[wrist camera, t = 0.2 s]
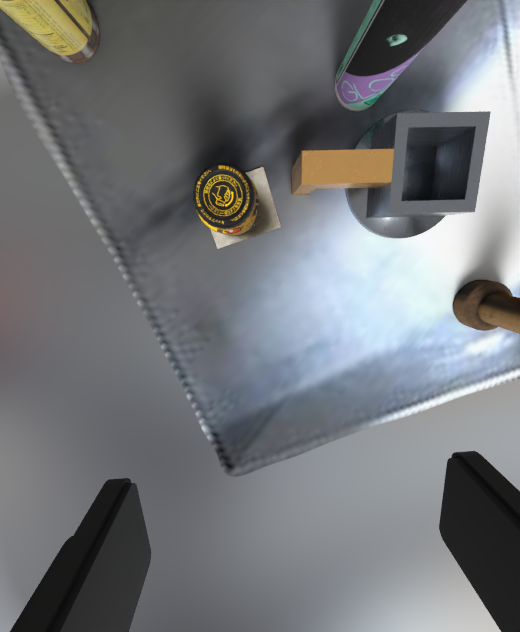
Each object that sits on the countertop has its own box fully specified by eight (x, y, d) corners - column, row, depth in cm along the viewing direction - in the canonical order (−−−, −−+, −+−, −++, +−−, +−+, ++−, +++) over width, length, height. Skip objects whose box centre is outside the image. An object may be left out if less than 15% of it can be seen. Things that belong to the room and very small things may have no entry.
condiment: (196, 190, 35) (169, 166, 23) (263, 167, 34) (269, 130, 23) (217, 248, 37) (202, 253, 25) (280, 227, 36) (294, 221, 25)
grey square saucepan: (292, 115, 33) (302, 83, 26) (467, 112, 34) (521, 80, 27) (291, 241, 37) (301, 241, 30) (449, 236, 37) (494, 236, 30)
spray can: (339, 117, 33) (460, -51, 14) (330, 62, 32) (451, -209, 13) (385, 104, 33) (573, -85, 14) (378, 48, 32) (577, -250, 12)
